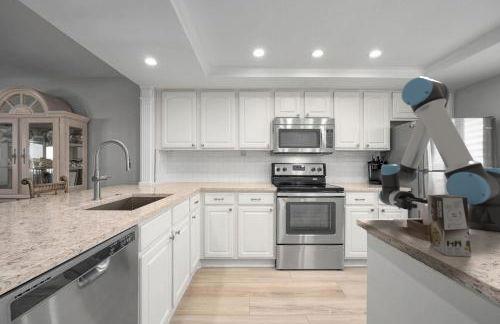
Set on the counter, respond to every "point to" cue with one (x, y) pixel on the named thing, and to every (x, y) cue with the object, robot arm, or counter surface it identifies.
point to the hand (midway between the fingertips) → (438, 207)
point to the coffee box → (449, 224)
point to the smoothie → (425, 215)
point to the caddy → (417, 229)
